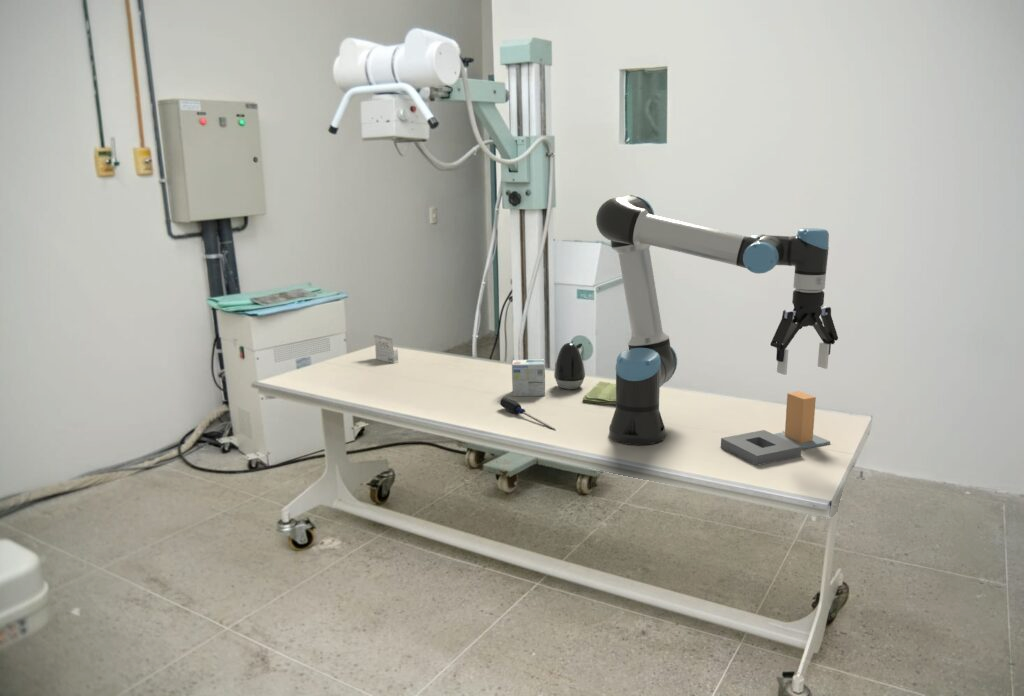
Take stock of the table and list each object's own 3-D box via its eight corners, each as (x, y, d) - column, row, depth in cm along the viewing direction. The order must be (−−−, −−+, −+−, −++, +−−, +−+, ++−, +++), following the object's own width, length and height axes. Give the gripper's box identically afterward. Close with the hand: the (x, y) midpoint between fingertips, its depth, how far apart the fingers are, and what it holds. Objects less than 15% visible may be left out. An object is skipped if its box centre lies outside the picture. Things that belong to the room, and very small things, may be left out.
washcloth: (580, 404, 246) (580, 394, 246) (597, 388, 262) (597, 379, 261) (621, 408, 241) (621, 398, 240) (636, 392, 257) (636, 383, 256)
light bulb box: (545, 390, 261) (544, 358, 258) (545, 396, 254) (545, 363, 251) (512, 390, 261) (512, 359, 258) (512, 396, 254) (511, 364, 252)
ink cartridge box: (380, 358, 308) (378, 333, 305) (398, 362, 300) (397, 337, 298) (375, 359, 306) (373, 334, 304) (393, 363, 299) (392, 338, 296)
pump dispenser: (591, 387, 262) (591, 343, 258) (567, 393, 256) (567, 348, 253) (572, 381, 270) (572, 337, 266) (548, 386, 264) (547, 342, 261)
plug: (800, 443, 207) (803, 399, 204) (784, 435, 212) (787, 393, 209) (812, 440, 208) (815, 397, 205) (796, 433, 214) (799, 391, 211)
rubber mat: (797, 450, 203) (797, 448, 203) (768, 437, 213) (768, 434, 213) (830, 443, 208) (830, 441, 207) (800, 430, 217) (800, 428, 217)
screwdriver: (560, 429, 223) (560, 417, 222) (550, 432, 221) (550, 419, 220) (507, 407, 244) (507, 395, 243) (498, 409, 242) (497, 398, 241)
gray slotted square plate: (756, 465, 194) (756, 455, 194) (720, 447, 207) (721, 438, 206) (800, 456, 199) (801, 446, 199) (763, 438, 212) (763, 429, 211)
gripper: (780, 296, 193) (774, 379, 198) (857, 288, 202) (849, 368, 207) (759, 291, 199) (754, 372, 205) (835, 284, 209) (828, 361, 214)
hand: (802, 370), depth 206 cm, fingers open, 13 cm apart
